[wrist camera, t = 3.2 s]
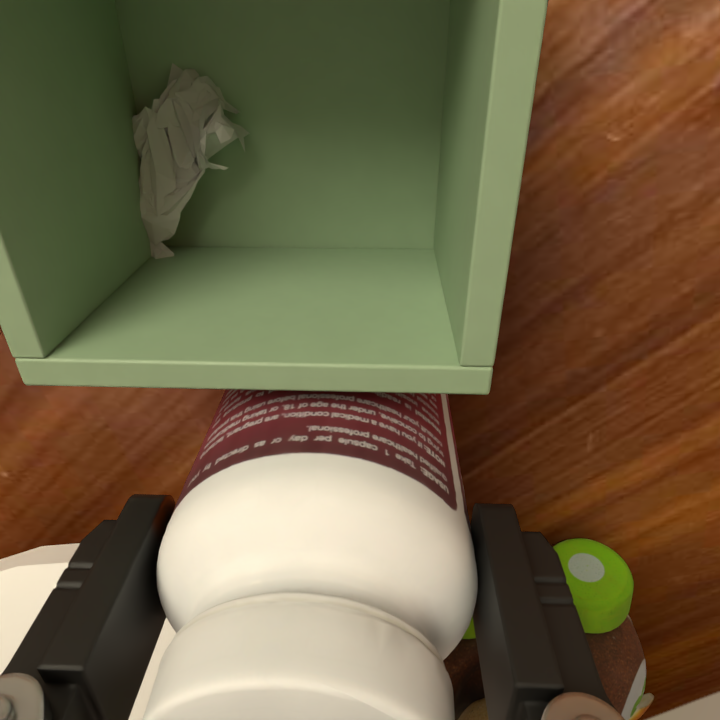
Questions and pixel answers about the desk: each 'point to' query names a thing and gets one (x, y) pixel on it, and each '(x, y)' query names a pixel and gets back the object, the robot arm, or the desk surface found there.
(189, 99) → the paper
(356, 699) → the pill bottle
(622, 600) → the toy car
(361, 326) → the green open box
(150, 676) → the vase
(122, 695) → the robot arm
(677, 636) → the desk surface
